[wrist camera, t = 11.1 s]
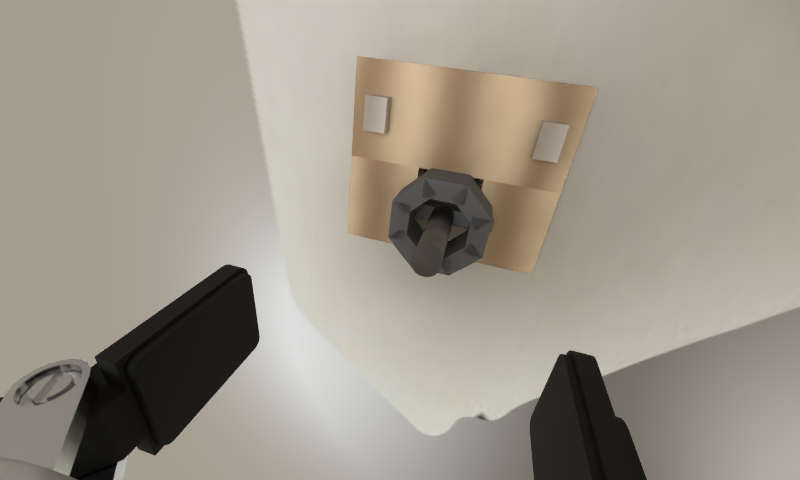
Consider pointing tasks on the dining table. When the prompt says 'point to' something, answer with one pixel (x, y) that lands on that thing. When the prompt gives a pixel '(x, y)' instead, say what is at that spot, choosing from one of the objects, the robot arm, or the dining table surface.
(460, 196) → the faceted grey ring
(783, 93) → the dining table surface
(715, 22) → the dining table surface
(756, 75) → the dining table surface
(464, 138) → the toggle switch panel
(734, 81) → the dining table surface
